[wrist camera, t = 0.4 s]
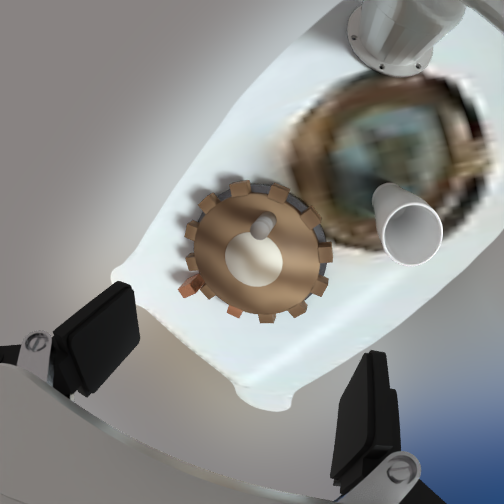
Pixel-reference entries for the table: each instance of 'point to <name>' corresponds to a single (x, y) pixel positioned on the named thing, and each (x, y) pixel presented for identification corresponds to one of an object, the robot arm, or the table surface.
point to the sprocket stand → (197, 281)
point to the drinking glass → (406, 225)
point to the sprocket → (258, 252)
